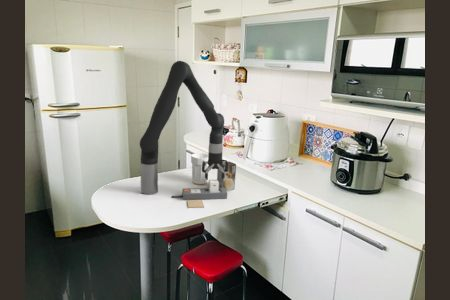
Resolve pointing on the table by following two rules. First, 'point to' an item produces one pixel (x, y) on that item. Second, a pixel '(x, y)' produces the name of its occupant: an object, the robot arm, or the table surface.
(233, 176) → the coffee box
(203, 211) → the table surface
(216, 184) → the charger
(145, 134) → the robot arm
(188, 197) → the power strip
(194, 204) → the cork mat
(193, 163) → the cup
